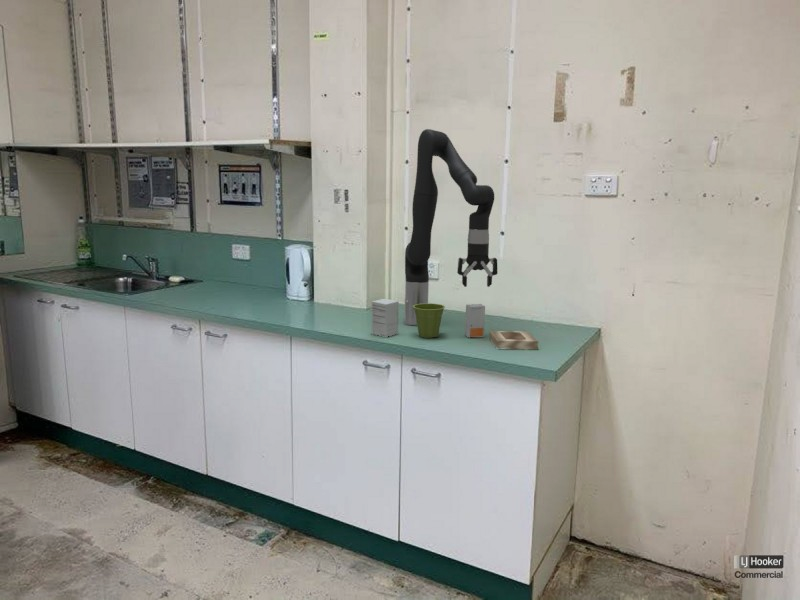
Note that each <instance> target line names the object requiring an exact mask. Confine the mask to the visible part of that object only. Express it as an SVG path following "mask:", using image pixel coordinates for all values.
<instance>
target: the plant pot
mask: <svg viewBox="0 0 800 600" xmlns="http://www.w3.org/2000/svg"><path fill="white" fill-rule="evenodd" d="M413 308H414V310H415V314H416V320H417V325H416V327H417V330H418V336H419V337H421V338H423V337H425V339H426V338H427V339H431V338H438V337H439V333H440V328H441V322H442V315H443V314H444V309H446V306H445V305H443V304H440V303H431V302H428V303H424V304H416V305H413Z"/></svg>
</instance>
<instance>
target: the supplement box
mask: <svg viewBox="0 0 800 600" xmlns="http://www.w3.org/2000/svg"><path fill="white" fill-rule="evenodd" d="M399 304H400V303H399V301H398V300H394V299H389V298H382V299H377V300H374V301H373V300H372V301H371V335H373V334H375V335H374V336H377V335H379V336H378V337H381V336H384V337H383V338H388V336H389V337H392V335H393V336H396V335H398V334H399ZM395 334H396V335H395Z"/></svg>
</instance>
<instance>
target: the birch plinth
mask: <svg viewBox="0 0 800 600" xmlns="http://www.w3.org/2000/svg"><path fill="white" fill-rule="evenodd" d="M488 332H489V334H488V335H489V336H488V337H489V338H488V339H489V341H490V340H491V341H492V342H491V341H490V342H491V344H492V345H493V344H494V345H495V346H496V347H497V348H505V349H538V348H539V340H537V338H535V337H534V336H533V335H532V334H531V333H530V332H529V331H528V330H524V331H523V330H509V331H508V330H489V331H488ZM494 345H493V346H494ZM495 346H494V347H495ZM496 347H495V348H496ZM538 350H539V349H538Z"/></svg>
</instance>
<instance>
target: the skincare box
mask: <svg viewBox="0 0 800 600" xmlns="http://www.w3.org/2000/svg"><path fill="white" fill-rule="evenodd" d="M485 314H486V306H485V305H483V304H482V303H473V304H472V303H471V304H465V319H464V320H465V321H464V322H465V323H464V336H465V335H466V336H467V337H466V336H465V337H466V338H468V337H469V338H468V339H471V338H470V337H483V338H484V331H485Z"/></svg>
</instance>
